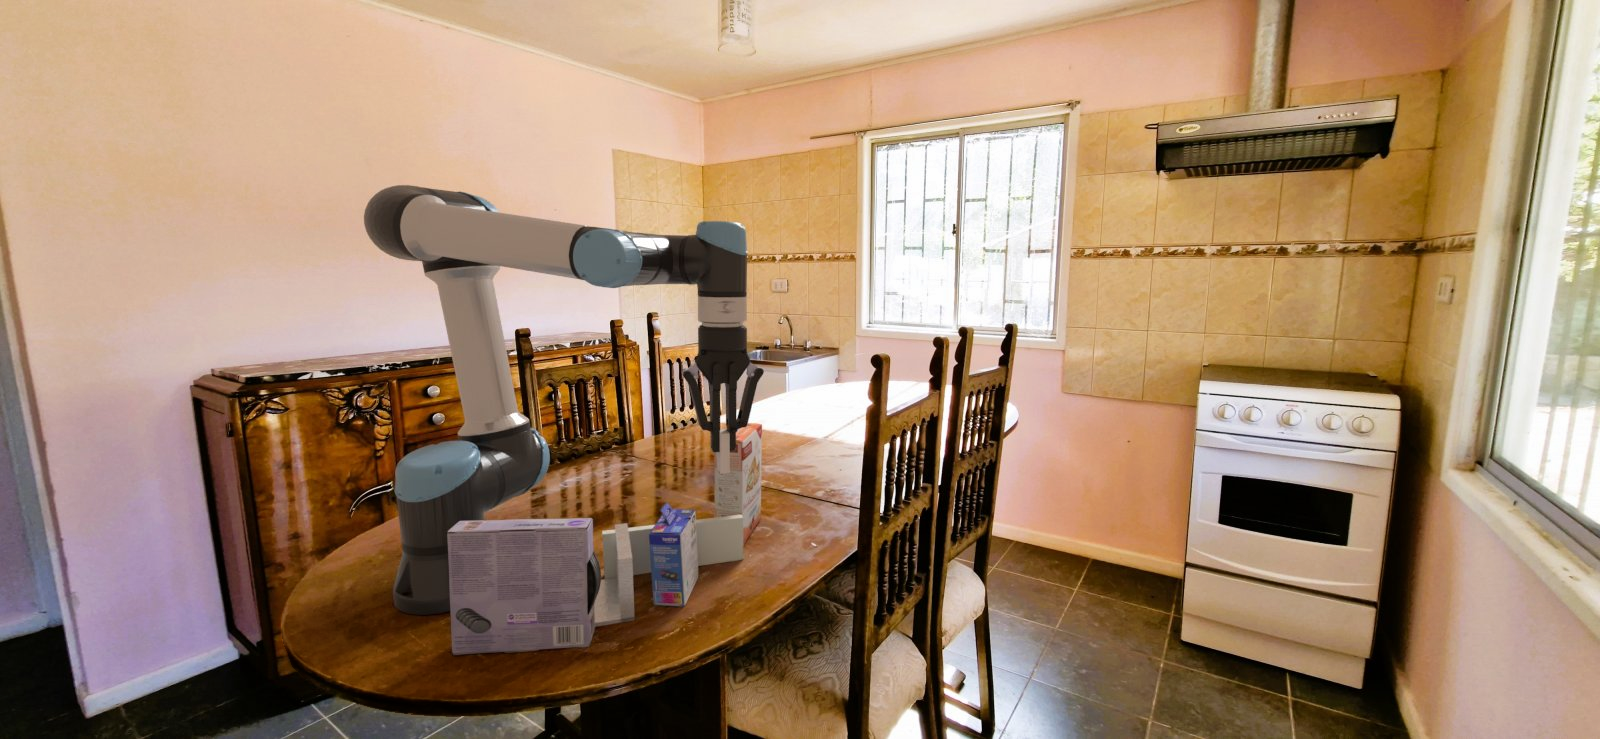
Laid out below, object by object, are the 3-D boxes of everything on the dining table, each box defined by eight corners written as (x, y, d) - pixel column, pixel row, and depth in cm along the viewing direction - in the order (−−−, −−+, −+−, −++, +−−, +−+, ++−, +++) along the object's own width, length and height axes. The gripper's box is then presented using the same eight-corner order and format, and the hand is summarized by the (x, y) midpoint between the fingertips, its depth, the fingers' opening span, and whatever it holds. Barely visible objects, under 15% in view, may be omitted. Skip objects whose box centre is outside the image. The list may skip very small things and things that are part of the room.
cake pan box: (604, 627, 92) (598, 513, 89) (597, 648, 87) (592, 527, 84) (465, 636, 89) (455, 519, 86) (450, 658, 84) (439, 534, 81)
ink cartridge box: (667, 575, 107) (665, 494, 105) (699, 576, 107) (697, 495, 104) (650, 606, 97) (647, 518, 95) (685, 607, 97) (683, 519, 95)
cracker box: (744, 549, 117) (743, 441, 114) (713, 545, 118) (711, 439, 115) (763, 519, 131) (763, 422, 127) (735, 517, 132) (734, 420, 129)
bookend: (577, 629, 91) (574, 565, 89) (579, 586, 103) (576, 529, 101) (634, 620, 93) (632, 557, 92) (629, 579, 106) (627, 523, 104)
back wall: (604, 579, 105) (602, 534, 104) (604, 575, 107) (602, 530, 106) (743, 559, 113) (743, 517, 112) (741, 555, 114) (741, 514, 113)
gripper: (683, 327, 91) (685, 482, 95) (769, 325, 95) (768, 474, 99) (676, 322, 98) (679, 466, 102) (757, 321, 102) (756, 460, 106)
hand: (723, 470), depth 100 cm, fingers closed
